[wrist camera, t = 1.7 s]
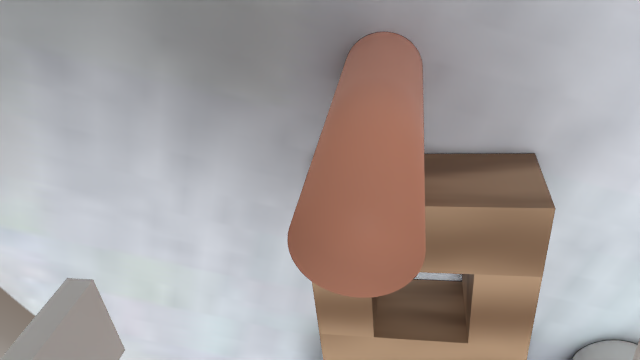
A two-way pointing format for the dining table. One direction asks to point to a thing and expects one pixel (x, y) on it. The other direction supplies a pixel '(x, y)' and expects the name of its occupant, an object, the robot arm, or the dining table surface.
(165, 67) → the dining table surface
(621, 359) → the cup
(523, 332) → the socket block
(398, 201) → the dowel
